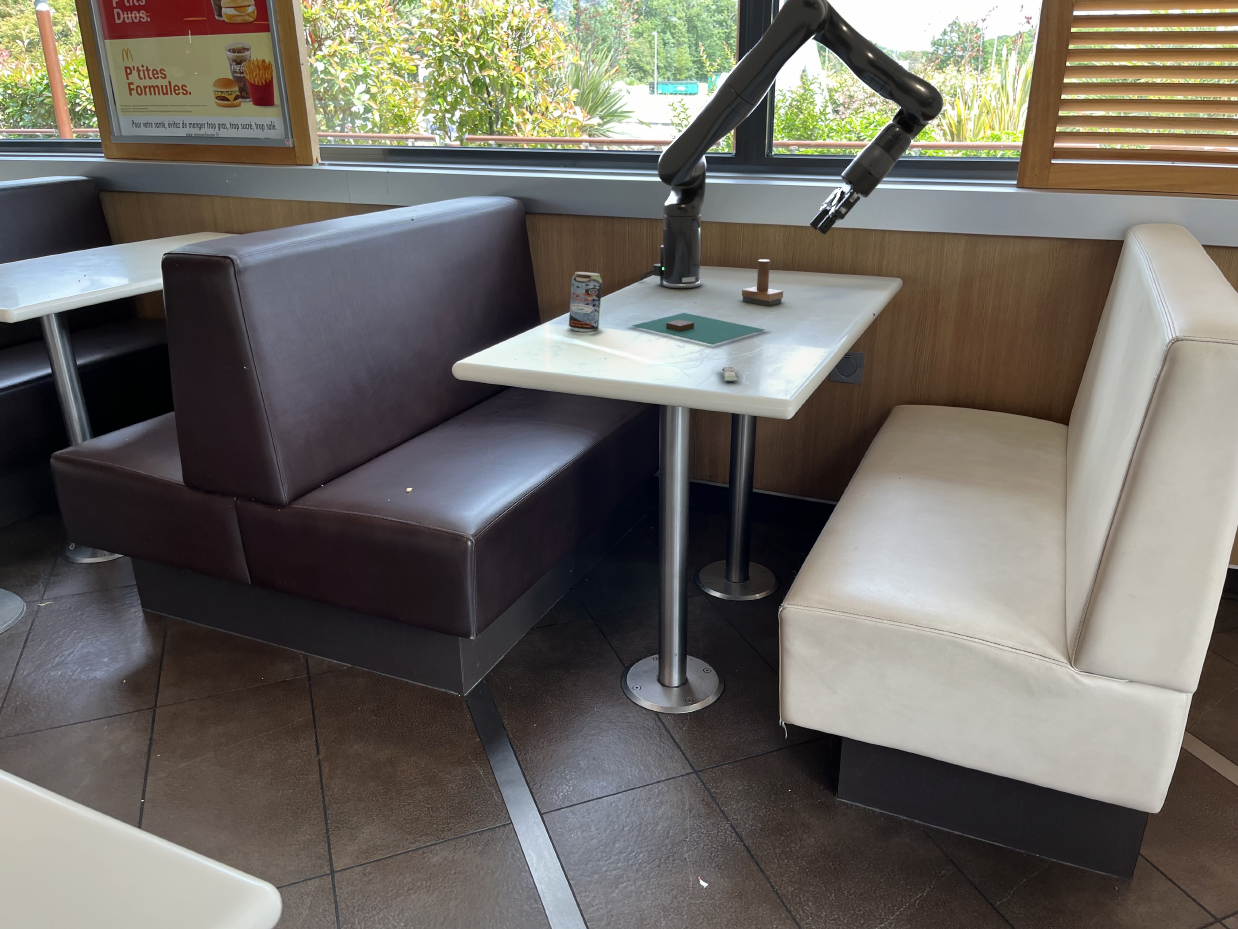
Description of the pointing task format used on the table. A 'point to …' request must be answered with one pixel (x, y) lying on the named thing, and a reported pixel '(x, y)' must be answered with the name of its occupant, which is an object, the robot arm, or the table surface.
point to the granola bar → (729, 374)
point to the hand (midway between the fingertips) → (816, 229)
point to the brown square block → (680, 325)
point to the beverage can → (585, 301)
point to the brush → (762, 288)
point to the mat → (701, 328)
